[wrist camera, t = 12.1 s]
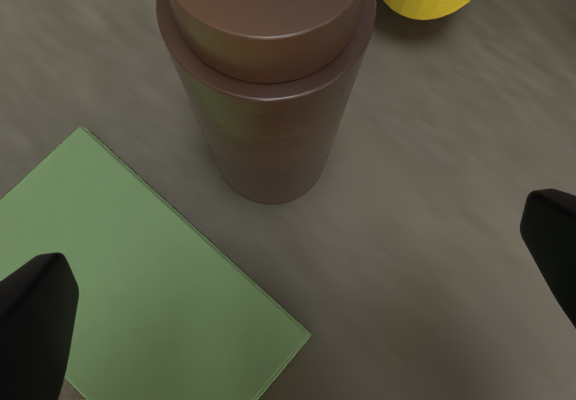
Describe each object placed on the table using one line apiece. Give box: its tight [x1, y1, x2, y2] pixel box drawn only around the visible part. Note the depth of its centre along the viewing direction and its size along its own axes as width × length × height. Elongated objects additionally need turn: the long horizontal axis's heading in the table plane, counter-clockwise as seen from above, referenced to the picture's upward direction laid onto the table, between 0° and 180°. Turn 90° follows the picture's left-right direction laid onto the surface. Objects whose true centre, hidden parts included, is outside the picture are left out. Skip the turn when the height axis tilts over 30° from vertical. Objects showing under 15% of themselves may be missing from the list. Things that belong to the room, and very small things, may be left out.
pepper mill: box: [156, 0, 376, 204], centre depth 14 cm, size 5×5×14 cm
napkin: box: [0, 127, 311, 400], centre depth 19 cm, size 8×14×1 cm, turn 48°
